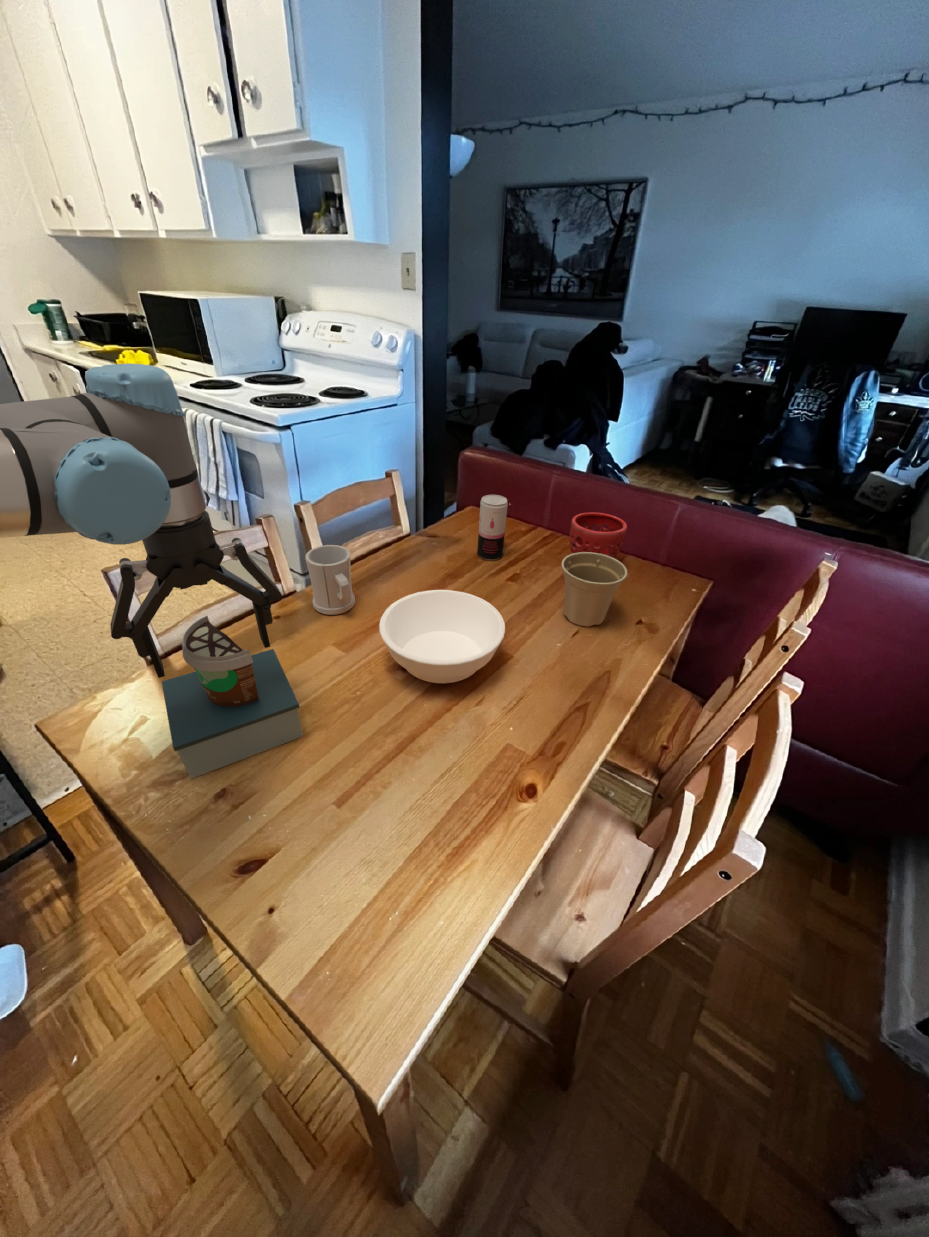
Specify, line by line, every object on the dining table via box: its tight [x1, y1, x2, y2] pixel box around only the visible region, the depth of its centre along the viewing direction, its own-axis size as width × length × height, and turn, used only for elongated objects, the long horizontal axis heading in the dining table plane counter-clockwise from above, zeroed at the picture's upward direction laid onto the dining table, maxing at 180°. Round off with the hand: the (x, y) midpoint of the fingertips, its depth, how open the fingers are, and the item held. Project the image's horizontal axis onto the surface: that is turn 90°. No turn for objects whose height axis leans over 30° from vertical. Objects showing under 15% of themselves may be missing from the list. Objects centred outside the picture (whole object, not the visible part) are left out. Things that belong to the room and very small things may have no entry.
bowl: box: [378, 589, 506, 684], centre depth 91 cm, size 22×22×8 cm
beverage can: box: [476, 494, 509, 561], centre depth 124 cm, size 7×6×15 cm
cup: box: [304, 544, 356, 616], centre depth 103 cm, size 10×9×12 cm
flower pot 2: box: [560, 552, 628, 628], centre depth 104 cm, size 13×13×12 cm
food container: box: [181, 615, 259, 707], centre depth 71 cm, size 12×6×10 cm, turn 49°
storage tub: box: [161, 648, 304, 780], centre depth 76 cm, size 17×15×7 cm
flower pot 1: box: [569, 511, 628, 559], centre depth 123 cm, size 13×13×12 cm
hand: (215, 656), depth 70 cm, fingers open, 13 cm apart
